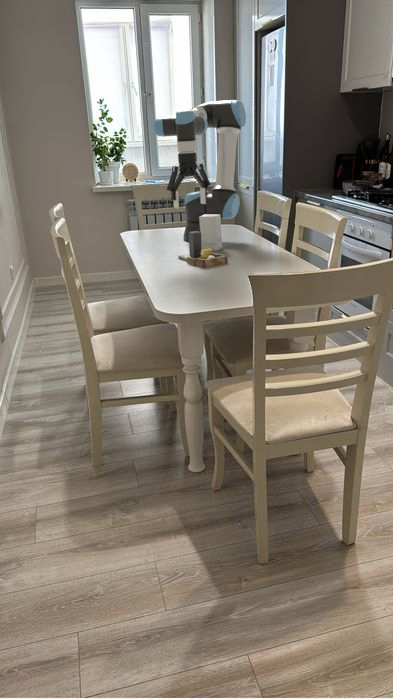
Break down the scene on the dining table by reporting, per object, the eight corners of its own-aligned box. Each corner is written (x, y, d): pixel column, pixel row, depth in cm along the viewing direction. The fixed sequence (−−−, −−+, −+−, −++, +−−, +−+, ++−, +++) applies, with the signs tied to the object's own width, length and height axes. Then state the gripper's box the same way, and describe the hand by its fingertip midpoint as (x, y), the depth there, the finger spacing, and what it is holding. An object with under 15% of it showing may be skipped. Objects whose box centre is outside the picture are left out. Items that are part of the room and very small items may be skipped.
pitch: (200, 254, 231) (200, 247, 230) (228, 262, 215) (228, 255, 213) (175, 259, 225) (175, 252, 224) (202, 268, 208) (202, 260, 207)
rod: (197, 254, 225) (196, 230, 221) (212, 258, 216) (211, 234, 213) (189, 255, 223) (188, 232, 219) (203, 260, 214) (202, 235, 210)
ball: (213, 252, 214) (218, 258, 212) (211, 259, 216) (216, 265, 215) (206, 254, 212) (211, 260, 210) (204, 261, 214) (208, 266, 213)
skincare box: (222, 248, 241) (221, 214, 235) (216, 251, 236) (216, 216, 230) (206, 247, 245) (204, 213, 239) (200, 250, 239) (198, 215, 233)
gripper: (206, 149, 220) (208, 201, 229) (155, 154, 208) (160, 208, 216) (217, 149, 214) (219, 202, 223) (165, 155, 202) (169, 210, 211)
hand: (190, 205), depth 220 cm, fingers open, 13 cm apart
